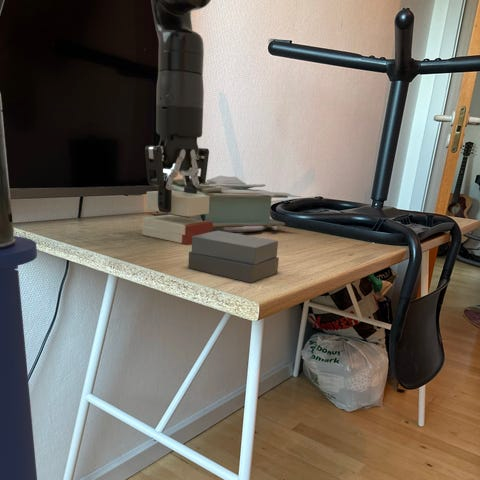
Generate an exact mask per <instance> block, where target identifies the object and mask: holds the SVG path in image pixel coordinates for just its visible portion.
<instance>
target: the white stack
mask: <svg viewBox="0 0 480 480" xmlns="http://www.w3.org/2000/svg"><path fill="white" fill-rule="evenodd" d="M209 232H214V231H213V222H209V221H207V222H206V221H201V220H196V219H190V218H185V217H180V216H175V215H173V214H164V215H163V214H162V215H153V216H152V215H151V216H145V217H144V216H143V217H142V226H141V235H142V236H145V237H151V238H156V239H159V240H160V239H161V240H164V241H170V242H174V243H179V244H182V245H192V236H196V235H200V234H205V233H209Z"/></svg>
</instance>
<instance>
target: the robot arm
mask: <svg viewBox="0 0 480 480" xmlns="http://www.w3.org/2000/svg"><path fill="white" fill-rule="evenodd" d="M211 1H212V0H150V2H151V9H152V15H153V21H154V26H155V31H156V34H157V40H158V55H157V56H158V62H157V67H158V68H157V69H158V70H157V80H156V89H155V90H156V91H155V92H156V98H155V99H156V105H155V107H156V110H155V113H156V114H155V117H156V118H155V122H156V123H155V131H156V134H157V135H159V136H160V139H159V143H158V145H145V147H144V154H145V162H146V163H145V165H146V175H147V176H146V177H147V183H148V184H149V185H151V186H153V185H154V186H156V187H157V189H158V208H159V211H160V212H159V213H164V212H165V213H166V214H170V213H169V212H171V196H172V190H169V189H171V186H172V183H173V180H174V179H176V178H177V176H178V175H180V176H181V177H182V178H183V180H184V184H185V186H187V187H184V192H186V193H193V194H197V188H198V187H199V185H200V184H201V183H202V184H204V183H205V182H207V173H208V166H209V165H208V164H209V158H210V157H209V156H210V149H209V148H205V147H199V145H198V139H199V138H202V137H203V126H204V101H205V99H204V98H205V89H204V76H203V75H204V56H205V55H204V53H205V46H204V45H205V44H204V39H203V37H202V36H201V34H199V33H198V32H197V31H195V30H193V24H192V12H196V11H198V10H201V9H204V8H205V7H207V6H208V5H209V4H210V2H211ZM4 3H5V0H0V15H1V14H2V10H3V7H4ZM3 109H4V108H3V99H2V92H1V91H0V250H1V249H6V248H9V247H12V246H14V245H15V237H14V236H15V233H14V232H15V229H14V219H13V210H12V202H11V201H12V200H11V190H10V178H9V166H8V154H7V145H6V132H5V123H4V112H3ZM199 170H200V173H199ZM155 175H156V176H155ZM165 178H166V179H165ZM165 213H164V214H165Z"/></svg>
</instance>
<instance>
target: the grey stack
mask: <svg viewBox="0 0 480 480" xmlns="http://www.w3.org/2000/svg"><path fill="white" fill-rule="evenodd" d="M278 248H279V240H276V239H270V238H264V237H259V236H254V235H247V234H242V233H237V232H225V231H212V232H209V233H205V234H200V235H196V236H192V244H191V249H190V250H191V251H189V252H188V264H187V265H188V266H187V267H188V269H192V270H195V271H199V272H203V273H204V272H205V273H208V274H212V275H216V276H221V277H224V278H229V279H233V280H237V281H241V282H245V283H250V284H251V283H255V282H256V281H260V280H262V279H265V278H268V277H270V276H273V275H277V274H278V270H279V269H278V268H279V260H280V258H279V257H278Z"/></svg>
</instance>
